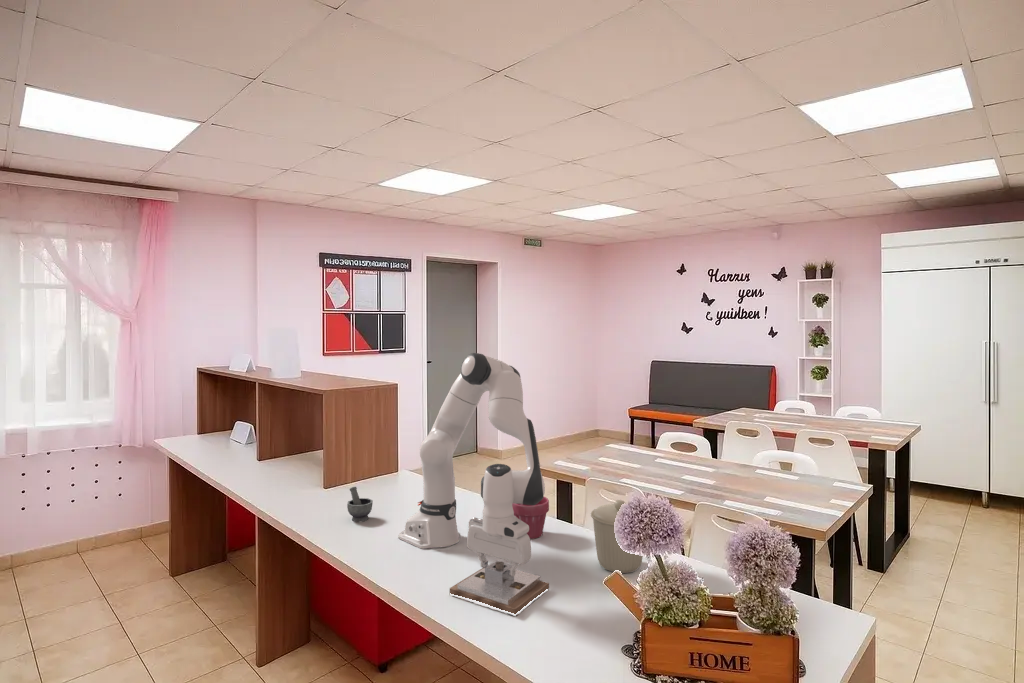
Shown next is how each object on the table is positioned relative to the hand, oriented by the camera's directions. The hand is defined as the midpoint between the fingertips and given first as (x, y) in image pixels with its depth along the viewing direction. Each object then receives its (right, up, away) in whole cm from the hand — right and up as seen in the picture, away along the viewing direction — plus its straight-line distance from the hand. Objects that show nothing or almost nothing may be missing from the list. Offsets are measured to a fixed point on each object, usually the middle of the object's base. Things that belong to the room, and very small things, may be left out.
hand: (497, 571), depth 162 cm
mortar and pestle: (-56, -5, +62) cm, 84 cm away
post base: (+1, -6, 0) cm, 6 cm away
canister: (+38, -6, +18) cm, 42 cm away
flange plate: (+1, -4, 0) cm, 4 cm away
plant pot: (+10, -5, +45) cm, 47 cm away
